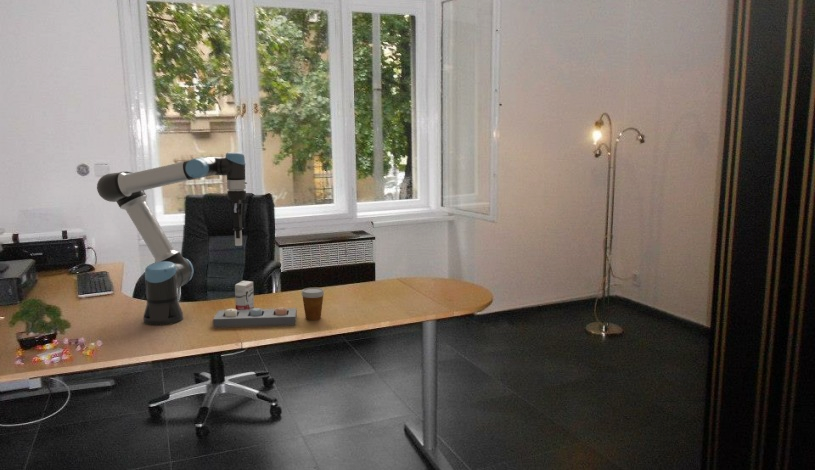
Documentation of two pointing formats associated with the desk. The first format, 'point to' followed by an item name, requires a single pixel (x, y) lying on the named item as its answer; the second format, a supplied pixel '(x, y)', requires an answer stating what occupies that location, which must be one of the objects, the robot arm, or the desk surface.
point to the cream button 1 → (230, 312)
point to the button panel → (255, 318)
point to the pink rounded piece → (281, 311)
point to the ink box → (244, 295)
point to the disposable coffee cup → (312, 302)
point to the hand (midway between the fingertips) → (238, 245)
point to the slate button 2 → (256, 312)
